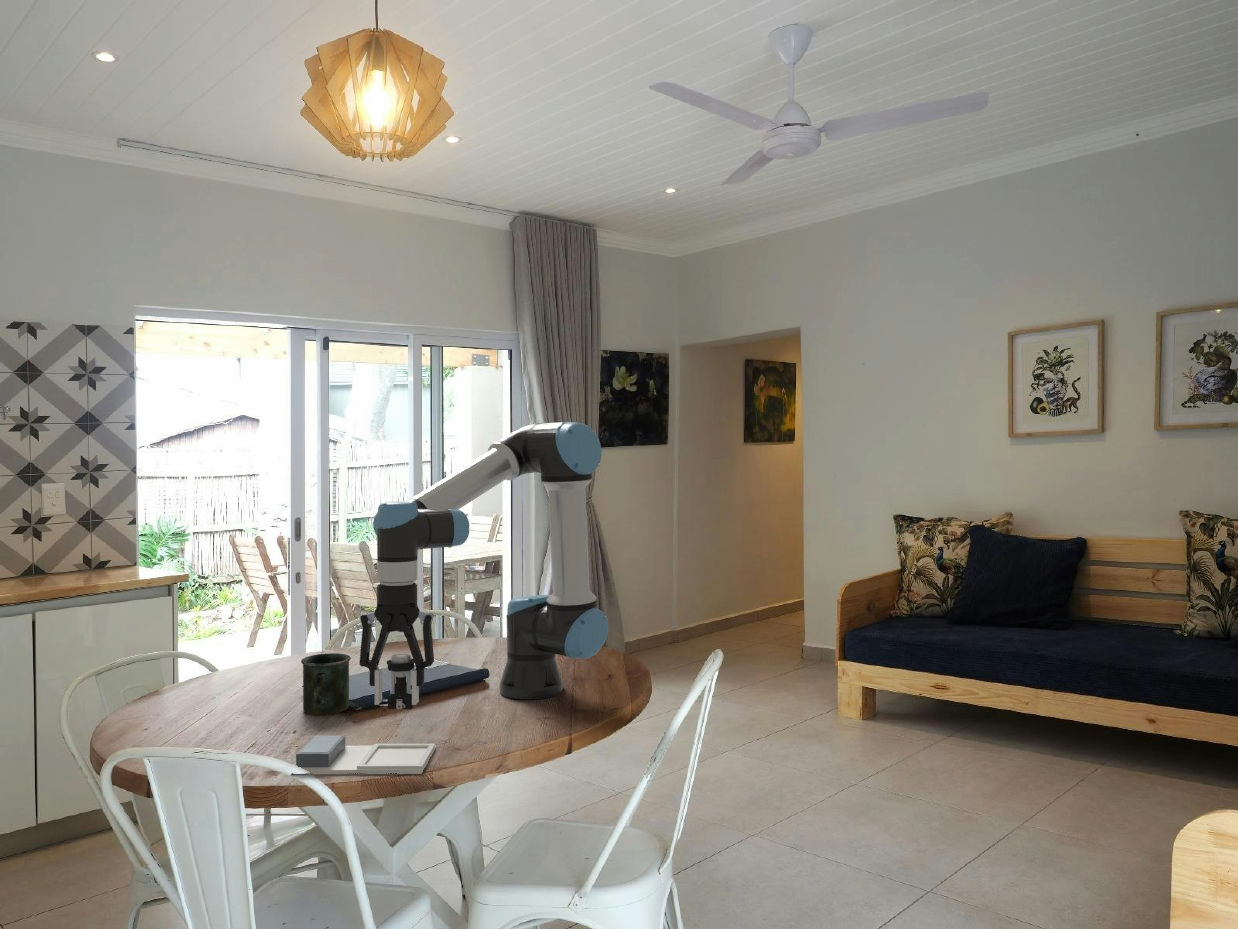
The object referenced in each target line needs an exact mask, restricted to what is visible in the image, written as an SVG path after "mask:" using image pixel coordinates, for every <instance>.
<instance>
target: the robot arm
mask: <svg viewBox="0 0 1238 929" xmlns="http://www.w3.org/2000/svg"><path fill="white" fill-rule="evenodd" d="M601 461H602V445H601V442H600V439H599V436H598V435H597V432H595V431H594V430H593V429H592V427H590V425H587V424H585V423H582V422H574V421H566V422H565V421H564V422H563V421H562V422H560V421H559V422H535V423H531V424H527V425H525V426H522V427H520V428H517V429H516V430H514V431H512V432H510V433H508V434H507V435H506V436H503V437H501V438H500V439H498V440H496V441H495V442H494V443H493V442H492V443H491V444H490V446H489V447H488V449H487V452H486V453H484V454H482V455H481V456H479V457H477V458H476V459H474V460H472V461H470V462H469V463H466V465H464V466H462V467H461V468H459V469H458V470H455V471H454V472H453V473H451V474H449V475H448V476H446V477H444V478H442V479H441V480H439V481H438V482H436V483H434V484H433V485H431V486H430V487H428V488H426V489H424V490H423V491H421V492H420V493H418V494H416V495H414V496H412V497H411V498H409V499H408V500H406V501H384V502H381V503H380V504H379V505H378V507H377V512H376V514H375V516H374V518H373V523H372V526H373V530H374V534H375V535H376V547H377V548H376V555H377V556H376V557H377V558H376V559H377V560H376V562H377V563H376V581H377V582H379V583H378V584H377V585H376V608H375V610H374V611H372V612H364V613H363V614H362V615H361V616H360V618H359V619H360V622H361V625H362V626H361V627H362V632H361V641H360V651H359V652H360V654H359V666H360V667H365V668H367V669H368V670H369V686H370V687H374V706H377V705H378V706H380V705H381V704H380V703H382V702H383V667H382V666H379V665H380V661H381V658H382V654H383V652H384V650H385V647H386V643H387V641H388V638H389V636H390V633H393V632H400V633H403V635H404V637H405V639H406V642H407V645H408V647H409V652H410V653H411V654H410V655H411V657H412V659H413V660H414V669H412V670H411V690H412V692H411V693H412V705H414V706H416V705H417V704H418V703H419V702H420V698H419V696H420V687H423V685H424V684H425V668H428V667H431V666H432V665H433V664H434V663H435V655H434V654H435V653H434V643H433V630H432V623H433V621H434V620H433V619H434V617H435V615H434V614H433V613H432V612H429V613H427V612H423V611H420V609H419V605H418V584H417V583H416V581H417V580H418V554H419V550H424V549H439V548H440V549H441V548H450V549H451V548H453V547H457V546H461V545H464V544H465V543H466V541H467V540H468V538H469V536H470V521H469V518H468V517H467V515H466V513H465V512H464V511H462V510H460V509H462V508H463V507H465V506H466V505H468V504H469V503H471V502H473V501H474V500H476V499H477V498H480V496H482V495H483V494H485V493H486V492H488V491H490V490H491V489H493V488H495V487H496V486H498V485H499V484H500V483H503V482H504V481H514V480H515V479H517V478H519V477H520V476H523V475H527V474H532V473H540V482H541V484H542V485H544V487H546V488H547V490H548V492H547V493H548V514H549V516H548V517H549V537H550V538H549V540H550V559H551V560H550V561H551V562H550V563H551V583H552V584H551V586H552V593H551V594H540V595H539V594H538V595H537V594H536V595H527V596H521V597H516V598H511V600H509V602H508V604H507V609H506V611H507V612H506V647H507V648H506V650H507V653H506V654H507V658H506V662H505V666H504V668H503V672H502V675H501V678H500V682H499V693H500V694H501V695H502V696H504V697H507V698H509V699H514V700H515V699H517V700H541V699H543V700H544V699H549V698H552V697H556V696H559V695H560V694H562V693H563V690H564V686H563V685H564V684H563V683H564V682H563V678H562V675H561V671H560V669H559V666H558V663H557V660H556V659H557V658H556V656H557V655H559V656H564V657H568V658H569V659H580V660H581V659H582V660H587V659H590V658H592V657H594V656H595V655H596V654H598V653H599V652H600V650H601V649H602V647H603V645H605V642H606V640H607V637H608V633H609V620H608V617H607V615H605V612H604V611H602V610H600V608H598V601H597V600H598V599H597V598H598V597H597V596H596V595H595V594H594V593H593V592H592V591H591V590H590V589H591V588H590V587H591V586H590V585H591V584H590V566H589V565H590V564H589V563H590V562H589V561H590V560H589V539H588V538H589V537H588V536H589V535H588V515H587V513H588V512H587V493H586V492H587V490H586V488H587V487H588V485H589V484H591V482H592V480H593V478H592V477H593V476H592V473H594V472H595V471H596V470H597V469H598V468H599V466H600V465H599V464H600V462H601ZM375 618H376V620H377V621H378V623H379V624H380V625H381V629H380V631H379V636H378V639H377V642H376V644H375V648H374V651H373V654H372V655H371V654H370V652H371V644H372V643H371V642H372V641H371V640H372V633H373V632H372V631H373V623H375ZM417 619H419V621H420V624H421V625H422V638H423V639H422V641H423V651H424V657H423V654H422V651H421V649H420V645H419V642H418V639H417V636H416V633H415V628H414V623H415V622H416V620H417ZM370 655H371V659H370ZM380 700H382V701H380Z"/></svg>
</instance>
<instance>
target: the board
mask: <svg viewBox="0 0 1238 929" xmlns="http://www.w3.org/2000/svg"><path fill="white" fill-rule="evenodd" d="M436 747H437V745H436V743H374V744H373V745H345V749H344V750H343V751H342V753H341V754H340V755H339V756H338V757H337V758H336V759H335V760H334V762H333V763H332V764H331V765H330V766H329V767H301V768H303V769H305V770H307V771H309V772H310V773H313V774H312V775H360V774H359V773H365V774H364V775H423V772H424V771H425V769H424V768H426V767H427V765H428V763H429V762H428V761H430V760H431V758H432V755H433V754H434V752H435V750H436ZM430 757H431V758H430ZM429 759H430V760H429ZM423 770H424V771H423ZM347 773H348V774H347ZM349 773H350V774H349ZM351 773H352V774H351ZM353 773H354V774H353ZM355 773H356V774H355ZM357 773H358V774H357ZM366 773H367V774H366ZM386 773H387V774H386ZM388 773H389V774H388ZM390 773H392V774H390ZM393 773H394V774H393ZM395 773H397V774H395Z"/></svg>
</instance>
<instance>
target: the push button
mask: <svg viewBox="0 0 1238 929" xmlns="http://www.w3.org/2000/svg"><path fill="white" fill-rule="evenodd" d="M411 657H412V654H409V653H397V654H392V655H391V658H390V659H389V660H388V659H387V660H386V664H387V671H390V672H391V682H390V683H391V684H390V685H391V689H389V694H388V695H387V698H386V699H382V700H380V701H382V702H386V703H387V704H386V703H385V704H379V707H387V709H388V710H412V709H413V708H414V706H415V705H412V670H413V669H414V668H415V663H414V660H413V658H411Z"/></svg>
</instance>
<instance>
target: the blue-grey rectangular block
mask: <svg viewBox="0 0 1238 929" xmlns="http://www.w3.org/2000/svg"><path fill="white" fill-rule="evenodd" d="M345 746H346V735H345V734H343V735H341V734H340V735H338V734H337V735H325V734H324V735H322V734H321V735H318V734H317V735H314V736H313V737H312V738H311V739H309V741H308V742H307V743H306V744H304V745H303V746H302V748H300V750H299V751H297V752H296V754H295V765H297V766H298V767H329V766H330V765H331V764H332V763H333V762H334V760H335V759H336V758H337V757H338V756H339V755H340V754H341V753H342V751H343V750H344V749H345Z"/></svg>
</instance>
